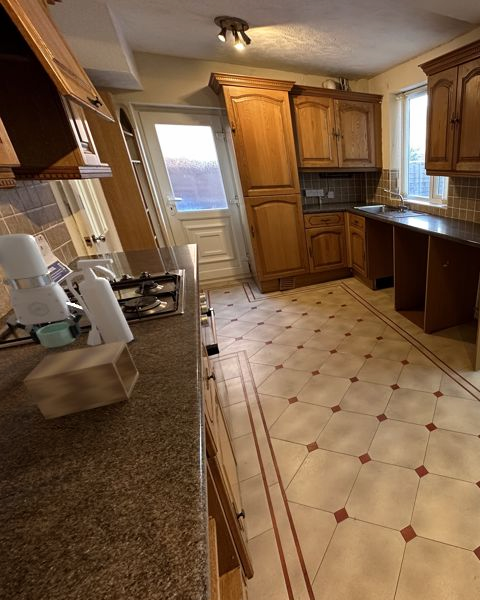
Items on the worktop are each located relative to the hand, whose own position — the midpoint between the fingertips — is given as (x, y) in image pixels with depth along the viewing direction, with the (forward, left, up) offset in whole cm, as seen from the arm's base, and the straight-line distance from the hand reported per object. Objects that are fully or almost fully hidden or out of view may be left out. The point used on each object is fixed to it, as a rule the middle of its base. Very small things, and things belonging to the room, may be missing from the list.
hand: (59, 338), depth 93 cm
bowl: (0, 0, -1) cm, 1 cm away
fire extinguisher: (+14, -5, -3) cm, 15 cm away
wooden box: (+17, -32, -2) cm, 36 cm away
